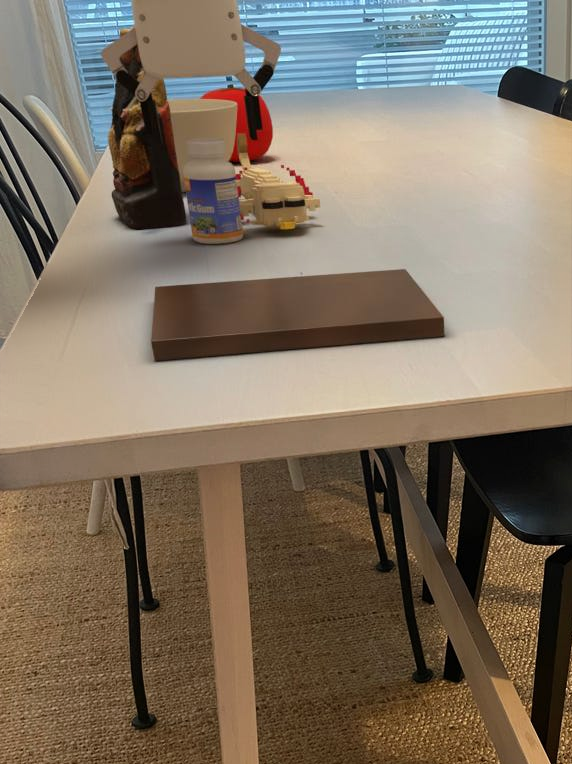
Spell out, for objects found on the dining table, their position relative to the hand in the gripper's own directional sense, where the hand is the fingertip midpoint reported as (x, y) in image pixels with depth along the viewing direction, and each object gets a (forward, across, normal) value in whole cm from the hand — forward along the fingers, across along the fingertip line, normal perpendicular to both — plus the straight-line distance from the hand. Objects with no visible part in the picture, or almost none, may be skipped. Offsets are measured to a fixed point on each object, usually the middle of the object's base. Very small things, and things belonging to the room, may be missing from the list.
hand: (206, 141), depth 102 cm
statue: (+10, +7, -12) cm, 17 cm away
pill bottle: (+10, 0, 0) cm, 10 cm away
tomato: (+10, -5, -57) cm, 58 cm away
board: (+9, -5, +33) cm, 35 cm away
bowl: (+10, +3, -34) cm, 35 cm away
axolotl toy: (+10, -6, -11) cm, 16 cm away
